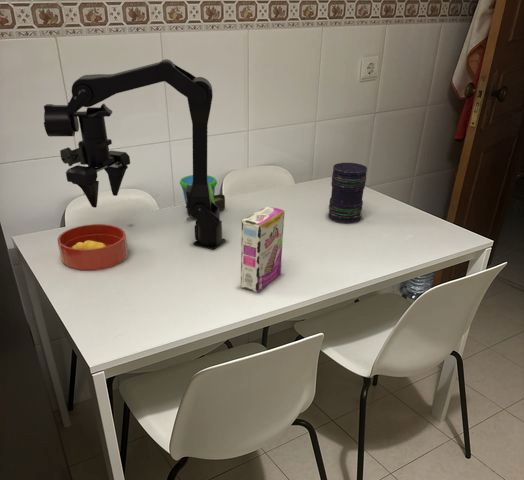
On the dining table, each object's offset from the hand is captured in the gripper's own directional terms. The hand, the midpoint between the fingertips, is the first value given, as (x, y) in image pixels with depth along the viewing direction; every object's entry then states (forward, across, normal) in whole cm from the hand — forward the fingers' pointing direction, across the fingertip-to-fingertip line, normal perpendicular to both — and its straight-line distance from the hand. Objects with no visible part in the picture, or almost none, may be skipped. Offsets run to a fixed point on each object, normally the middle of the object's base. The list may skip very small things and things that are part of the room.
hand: (105, 201), depth 132 cm
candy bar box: (+12, +5, +44) cm, 46 cm away
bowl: (+12, +8, 0) cm, 14 cm away
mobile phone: (+9, -29, +14) cm, 34 cm away
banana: (+11, +7, 0) cm, 13 cm away
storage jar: (+12, -44, +53) cm, 70 cm away
